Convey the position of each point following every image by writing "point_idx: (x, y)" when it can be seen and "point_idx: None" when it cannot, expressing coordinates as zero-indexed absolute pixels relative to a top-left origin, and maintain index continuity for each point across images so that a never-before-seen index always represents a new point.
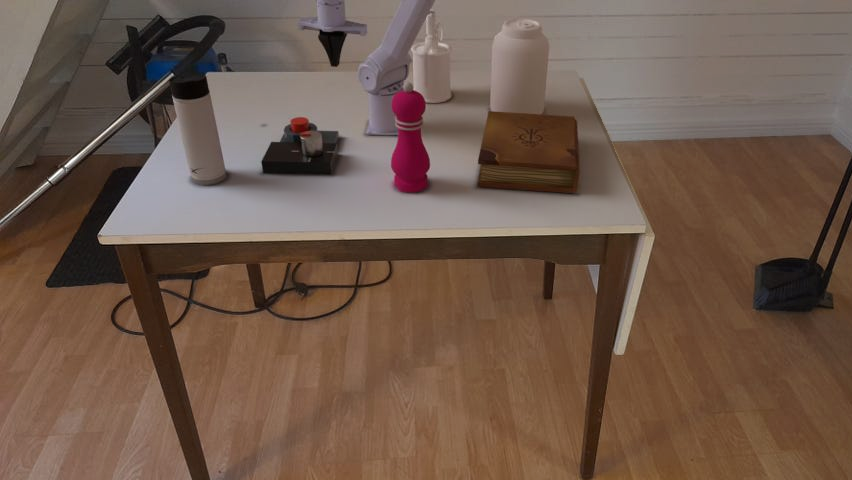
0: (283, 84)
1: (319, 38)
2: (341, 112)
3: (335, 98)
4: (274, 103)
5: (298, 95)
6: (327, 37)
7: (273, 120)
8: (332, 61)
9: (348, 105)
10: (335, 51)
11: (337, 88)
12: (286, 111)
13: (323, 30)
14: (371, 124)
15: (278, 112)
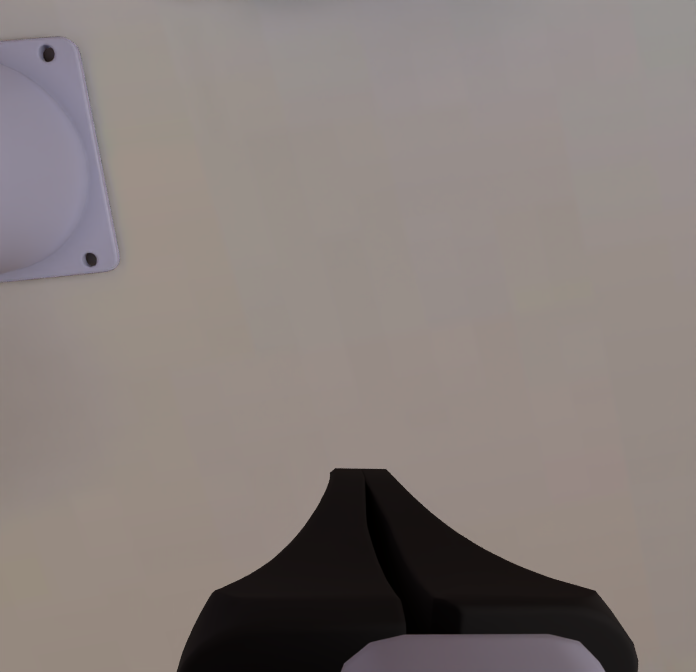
0: (676, 615)
1: (592, 594)
2: (314, 344)
3: None
4: (682, 395)
5: (582, 509)
6: (455, 630)
7: (652, 182)
8: (371, 481)
9: (300, 438)
10: (330, 531)
11: None
12: (605, 308)
13: (570, 652)
14: (39, 93)
15: (644, 289)
